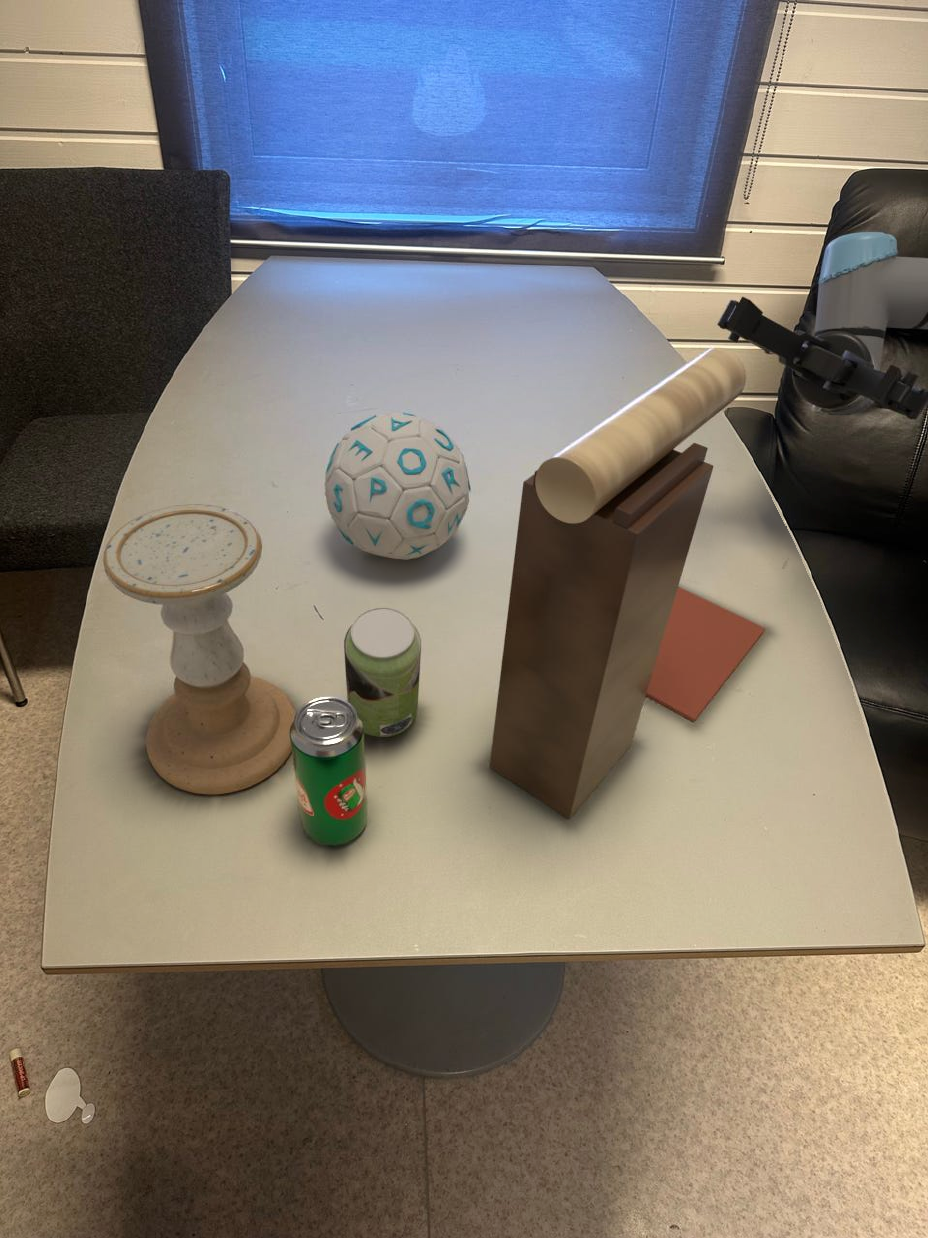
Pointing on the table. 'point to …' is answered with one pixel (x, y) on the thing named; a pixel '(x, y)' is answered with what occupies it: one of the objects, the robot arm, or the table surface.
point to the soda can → (330, 770)
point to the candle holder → (203, 647)
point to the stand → (590, 628)
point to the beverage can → (383, 670)
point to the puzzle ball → (397, 486)
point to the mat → (698, 653)
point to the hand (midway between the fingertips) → (809, 346)
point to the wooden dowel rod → (638, 436)
